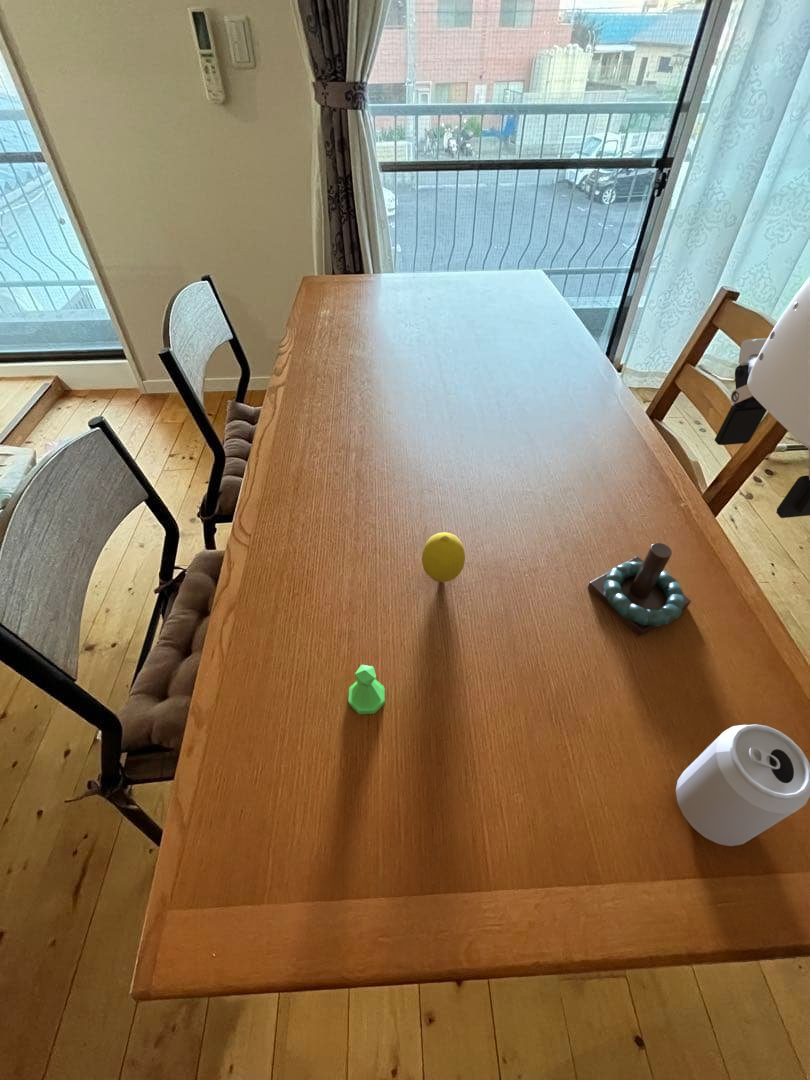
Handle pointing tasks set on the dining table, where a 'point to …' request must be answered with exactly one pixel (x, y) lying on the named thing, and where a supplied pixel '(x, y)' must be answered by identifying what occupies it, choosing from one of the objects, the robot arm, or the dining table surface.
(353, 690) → the game piece
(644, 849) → the dining table surface
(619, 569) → the ring
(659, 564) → the post
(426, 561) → the lemon
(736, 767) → the can
